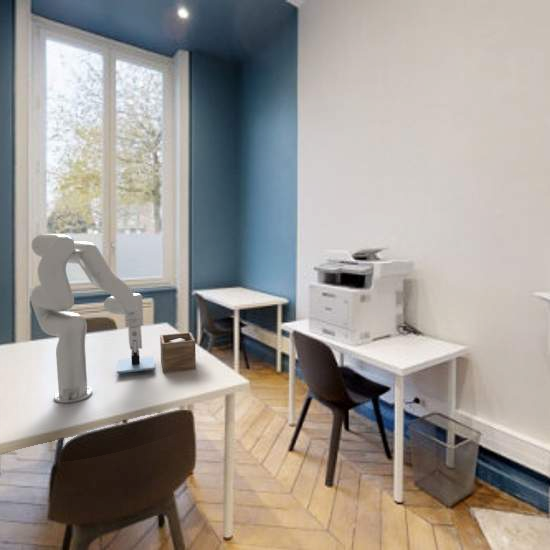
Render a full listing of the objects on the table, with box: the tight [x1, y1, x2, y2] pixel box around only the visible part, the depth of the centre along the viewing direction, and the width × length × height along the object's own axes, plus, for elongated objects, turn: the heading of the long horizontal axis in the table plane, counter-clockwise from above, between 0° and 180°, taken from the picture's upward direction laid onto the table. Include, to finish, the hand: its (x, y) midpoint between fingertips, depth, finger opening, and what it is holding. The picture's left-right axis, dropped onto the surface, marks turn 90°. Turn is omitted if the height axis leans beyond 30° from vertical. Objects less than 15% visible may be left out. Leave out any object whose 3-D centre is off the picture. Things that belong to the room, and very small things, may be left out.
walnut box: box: [159, 332, 197, 374], centre depth 177 cm, size 14×14×13 cm
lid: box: [116, 350, 156, 374], centre depth 171 cm, size 15×15×6 cm
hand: (135, 362), depth 171 cm, fingers closed on lid, 3 cm apart
